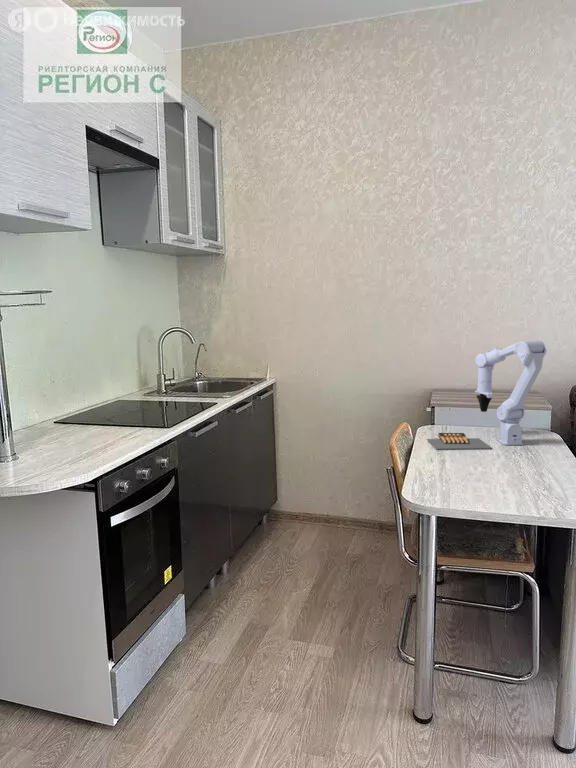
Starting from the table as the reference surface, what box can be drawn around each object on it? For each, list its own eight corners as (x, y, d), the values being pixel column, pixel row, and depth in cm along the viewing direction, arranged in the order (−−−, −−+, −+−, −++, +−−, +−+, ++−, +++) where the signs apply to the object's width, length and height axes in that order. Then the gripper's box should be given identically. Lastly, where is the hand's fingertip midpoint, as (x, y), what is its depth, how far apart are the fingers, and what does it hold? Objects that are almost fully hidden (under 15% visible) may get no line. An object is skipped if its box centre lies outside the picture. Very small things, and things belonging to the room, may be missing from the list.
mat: (492, 449, 213) (492, 447, 213) (436, 450, 214) (436, 448, 214) (478, 439, 229) (478, 438, 229) (426, 440, 230) (426, 439, 229)
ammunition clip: (464, 432, 230) (470, 440, 219) (463, 437, 231) (470, 445, 219) (438, 432, 232) (443, 440, 220) (438, 437, 232) (443, 445, 220)
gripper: (470, 378, 242) (469, 408, 244) (481, 383, 228) (480, 414, 230) (486, 378, 242) (485, 408, 244) (497, 383, 227) (496, 414, 229)
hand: (483, 411), depth 237 cm, fingers closed
